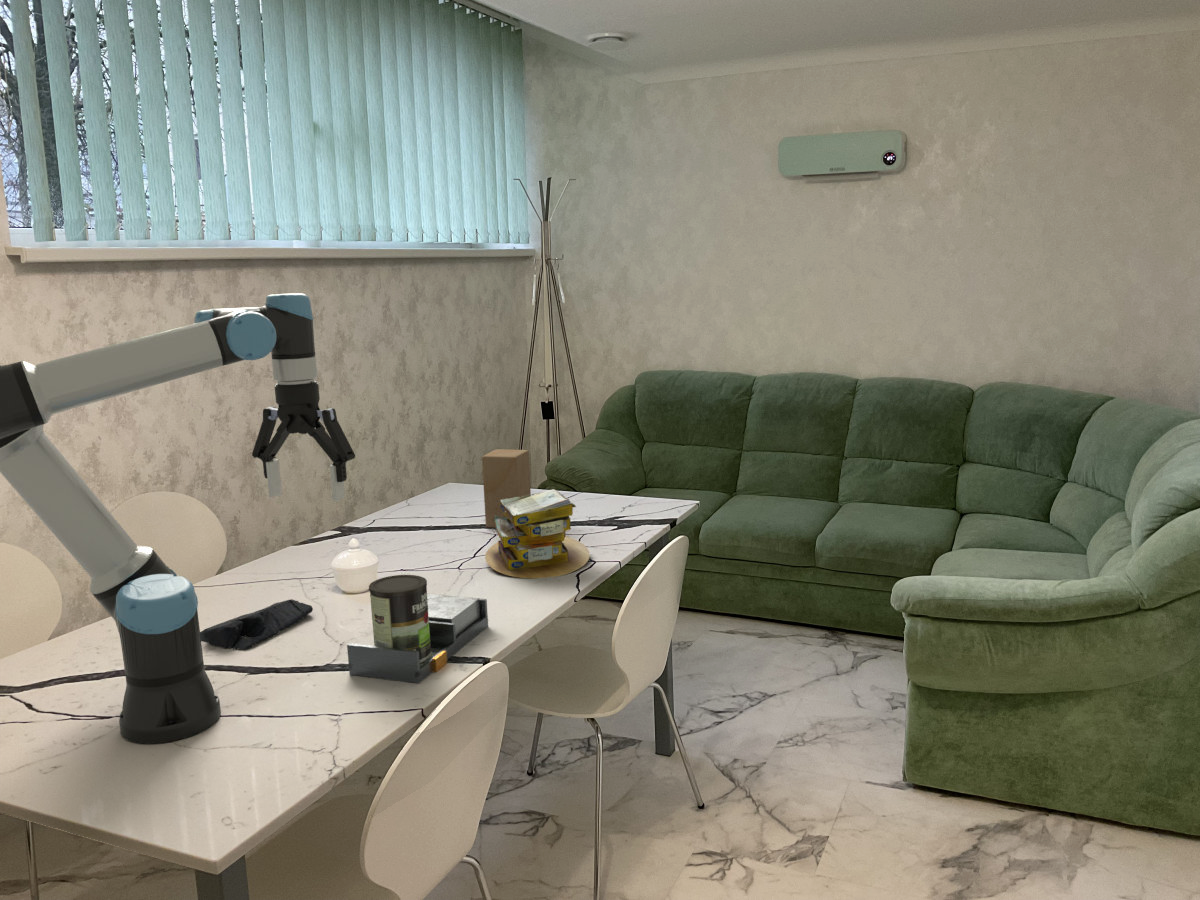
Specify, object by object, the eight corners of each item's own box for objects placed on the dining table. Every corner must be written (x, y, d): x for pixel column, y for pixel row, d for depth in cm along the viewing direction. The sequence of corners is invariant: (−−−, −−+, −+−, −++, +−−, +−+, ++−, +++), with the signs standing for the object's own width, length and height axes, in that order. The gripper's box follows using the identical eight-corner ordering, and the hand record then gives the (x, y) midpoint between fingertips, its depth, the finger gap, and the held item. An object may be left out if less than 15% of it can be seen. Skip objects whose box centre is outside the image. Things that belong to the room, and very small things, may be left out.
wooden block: (485, 527, 273) (481, 456, 269) (499, 518, 283) (495, 448, 279) (519, 529, 270) (515, 457, 266) (532, 519, 280) (529, 449, 276)
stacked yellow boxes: (596, 574, 231) (593, 503, 228) (488, 582, 228) (484, 511, 224) (581, 544, 255) (579, 480, 252) (483, 551, 251) (480, 486, 248)
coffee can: (440, 647, 187) (435, 574, 185) (419, 669, 177) (414, 593, 175) (388, 644, 189) (382, 573, 187) (365, 666, 180) (359, 591, 177)
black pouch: (325, 618, 210) (323, 596, 209) (240, 655, 191) (238, 632, 190) (274, 607, 217) (272, 586, 216) (188, 642, 199) (185, 619, 198)
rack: (422, 683, 175) (419, 650, 173) (349, 674, 179) (346, 642, 178) (491, 626, 200) (489, 596, 199) (426, 619, 205) (424, 591, 204)
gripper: (368, 379, 177) (377, 495, 182) (251, 377, 186) (263, 489, 190) (344, 385, 171) (354, 505, 175) (224, 383, 179) (236, 498, 183)
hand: (306, 497), depth 182 cm, fingers open, 13 cm apart
